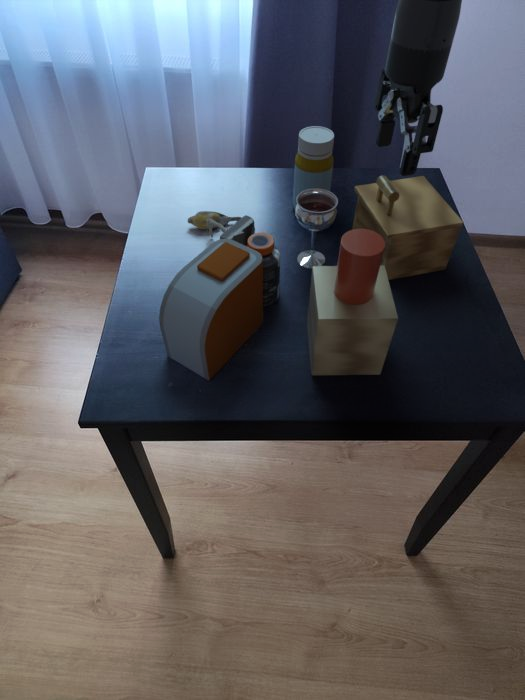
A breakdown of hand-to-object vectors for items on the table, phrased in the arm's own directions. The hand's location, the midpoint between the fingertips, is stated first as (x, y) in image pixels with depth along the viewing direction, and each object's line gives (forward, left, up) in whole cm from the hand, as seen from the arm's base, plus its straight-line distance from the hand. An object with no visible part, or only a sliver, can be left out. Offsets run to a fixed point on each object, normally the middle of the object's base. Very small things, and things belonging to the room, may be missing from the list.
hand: (394, 159), depth 71 cm
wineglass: (+9, +6, -18) cm, 22 cm away
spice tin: (-3, +23, -6) cm, 24 cm away
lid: (-3, -3, -9) cm, 10 cm away
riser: (-3, +23, -18) cm, 29 cm away
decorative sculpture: (+25, +8, -18) cm, 32 cm away
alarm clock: (+15, +29, -18) cm, 38 cm away
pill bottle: (+13, +18, -18) cm, 29 cm away
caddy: (-4, -3, -18) cm, 19 cm away
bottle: (+15, -8, -18) cm, 25 cm away
